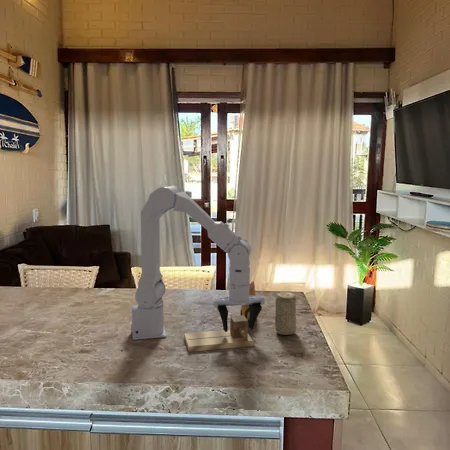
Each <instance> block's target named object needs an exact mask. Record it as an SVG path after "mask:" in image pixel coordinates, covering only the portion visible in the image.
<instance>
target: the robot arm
mask: <svg viewBox="0 0 450 450" xmlns="http://www.w3.org/2000/svg"><path fill="white" fill-rule="evenodd" d="M169 210H172V211H174V212H179V213H180V212H181V213H182V212H183V213H185V214H187V215H188V216H189V217H191V219H193V220H194V221H196V222H197V223H198V224H199V225H200V226H201V227H203V228H204V229H205V230H206V231H207V237H208V239H210V240H211V241H212V242H213V243H214V244H215V245H217V246H218V247H219V248H220V249H221V250H222V251H223V252H225V253H227V257H228V260H229V271H228V272H229V274H228V276H229V277H228V278H229V280H228V281H229V282H228V284H229V285H228V286H229V287H228V296H224V297H223V296H222V297H220V298H213V299H212V305H213V308H214V309H216V308H217V311H218V314H219V316H220V320H221V322H222V330H224V331H225V332H227V331H228V330H229V329H228V319H229V317H228V316H229V310H228V307H231V306H233V307H234V306H242V305H249V313H250V317H249V324H248V326H249V327H248V328H249V329H250V330H251V331H252V330H254V328H255V326H256V325H255V324H256V321H257V318H258V316H259V314H260V313H261V312H262V308H263V306H262V305H265V302H266V301H265V297H264V296H263V295H255V296H249V284H251V282H250V280H251V279H250V278H251V277H250V276H251V272H250V271H251V268H250V264H251V262H250V256H251V253H252V248H251V247H252V246H251V244H250V243H249V242H248V240H247V239H244V238H242V236H241V235H237V234H236V233H235V232H234V230H232V229H231V228H230V224H228V223H227V222H225V223H224V222H223V221H215V219H213V218H212V217H211V216H210V214H208V213H207V212H206V211H205V210H204V209H203V207H201V206H200V205H199V204H198V203H197V202H196V201H195V200H193V198H192V197H190V195H188V193H187V192H185V191H182V190H181V188H180V187H178V186H177V185H173V184H171V185H167V186H162V187H161V186H160V187H158V188H156V189H155V190H153V191H152V192H151V193H149V195H148V199H147V200H146V202H145V204H144V206H143V207H142V210H140V239H141V241H140V247H141V250H140V251H141V257H140V258H141V275H140V277H139V279H138V283H137V289H136V291H135V293H134V295H135V296H134V299H135V301H136V304H135V305H131V324H130V331H131V332H132V340H134V341H137V340H147V339H158V338H160V339H161V338H167V333H166V329H165V325H164V323H165V322H164V320H165V319H164V300H163V297H164V295H165V293H166V284H165V283H164V279H163V274H162V272H161V267H160V266H161V257H160V256H161V254H160V253H161V252H160V251H161V250H160V249H161V247H160V244H161V243H160V242H161V241H160V239H161V238H160V237H161V236H160V235H161V234H160V230H161V229H160V218H161V217H163V216H164V215H165V214H166V213H167V212H169Z"/></svg>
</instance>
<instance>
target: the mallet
mask: <svg viewBox="0 0 450 450" xmlns="http://www.w3.org/2000/svg"><path fill="white" fill-rule="evenodd" d="M248 326H249V324H248V320H247V319H246V318H245V316H244V315H241V316H240V315H233V316H232V315H231V316H230V327H229V330H230V333H231V335H232V337H233V338H234V339H236V338H244V339H247V338H248V336H247V333H248V331H249V330H248V329H249V327H248Z"/></svg>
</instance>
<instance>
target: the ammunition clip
mask: <svg viewBox="0 0 450 450" xmlns="http://www.w3.org/2000/svg"><path fill="white" fill-rule="evenodd" d="M249 296H256V288H255V282H254V281H252V282H250V284H249ZM240 306H241V309H240V312H239V313H240V315H239V316H241V315H244V316H245V318H246V319H247V320H248V325H249V317H250V313H249V305H240Z"/></svg>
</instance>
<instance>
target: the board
mask: <svg viewBox="0 0 450 450" xmlns="http://www.w3.org/2000/svg"><path fill="white" fill-rule="evenodd" d="M183 334H184V336H183V339H184V342H185V345H186V348H187V351H188V352H189V353H191V352H193V353H194V352H203V351H214V350H224V349H232V348H233V349H234V348H244V347H253V346H254V340H253V339H252V337H251V335H250V334H249V333H248V332H247V336H248V338H247V339H244V338H236V339H234V338H233V337H232V335H231V333H230V329H228V331H227V332H225V331H224V329H220V330H209V331H197V332H196V331H195V332H187V333H183Z"/></svg>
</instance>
